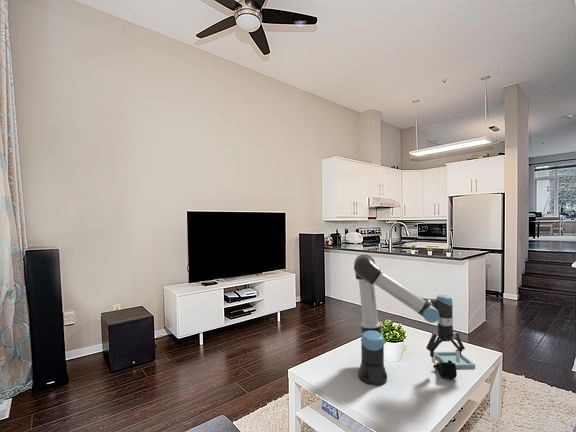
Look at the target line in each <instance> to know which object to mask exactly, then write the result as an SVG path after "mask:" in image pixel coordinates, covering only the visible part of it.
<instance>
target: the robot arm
mask: <svg viewBox="0 0 576 432" xmlns="http://www.w3.org/2000/svg"><path fill="white" fill-rule="evenodd" d="M353 270H354V272H355V279H356V280H357V281H358V287H359V296H360V297H359V298H360V304H361V307H360V308H361V315H362V321H361V323H360V332H361V338H360V342H361V343H360V344H361V346H360V347H361V351H360V352H361V362H360V365H359V368H358V371H357V372H358V373H357V374H358V375H357V376H358V379H359V380H360V381H362V382H363V383H365V384H368V385H371V386H382V385H384V384H386V383H387V381H388V373H387V371H386V367H385V363H384V362H385V358H384V357H385V353H384V351H385V347H384V345H385V339H384V336H383V332H382V324H381V322H380V321H379V319H378V308H377V299H376V290H375V289H376V288H375V286H377V287H378V288H380V289H381V290H383V291H384V292H386V293H387V294H389V295H390V296H392V297H394V298H395V299H396V300H398V301H399V302H400V303H403V304H404V305H405V306H406V307H408V308H409V309H411V310H413V311H414V312H416V313H417V314H418V315H420V316H422V317H423V319H424V320H425V321H426V322H428V323H430V324H431V323H432V324H433V323H436V322H437V332H434V331H432V332H431V337H430V338H429V341H428V344H427V345H426V350H428V352H429V356H430V357H431V363H432V364H433V365H434V364H436V357H435V352H436V351H435V350H436V349H437V348H438V347H439V346H440V345H441V343H443V342H451V344H453V346H454V347H455V352H456V361H457V362H458V363H460V356H461V354H462V352H463V351H465V348H466V347H465V346H464V344H463V342H462V340H461V338H460V335H459V332H457V331H454V326H453V324H454V319H453V318H454V317H453V313H454V312H453V308H454V304H453V298H452V297H451V295H447V294H438V295H437V296H436V298H423V297H420V296H419V295H417V294H416V293H415V292H412V291H411V290H410V289H408V288H406V287H405V286H403V284H401V283H400V282H397V281H396V280H395V279H393V278H391V277H390V276H388V275H387V274H385V272H383V271H384V270H383V269H381V268H379V266H377V265H376V262H375V259H374V257H372V256H371V255H369V254H365V253H364V254H360V255H358V256H357V257H356V258H355V260H354V263H353ZM453 337H454V339H456V341H455V340H454V339H453Z"/></svg>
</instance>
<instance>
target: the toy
mask: <svg viewBox="0 0 576 432" xmlns="http://www.w3.org/2000/svg"><path fill="white" fill-rule="evenodd" d="M432 366H433V367H432V368H434V369H437V371H438V373H439V376H440V377H442V378H450V379H451V378H452V379H455V378H457V376H458V373H457V368H456V365H455V363H452V361H450V360H448V362H445V363H441V362H440V361H439V362H435V364H434V363H433V365H432Z"/></svg>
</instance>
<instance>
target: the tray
mask: <svg viewBox="0 0 576 432" xmlns="http://www.w3.org/2000/svg"><path fill="white" fill-rule="evenodd" d="M435 359H437V361H439V363H440V362H441V363H445V362H448V360H450V361H452V363H455V365H456V369H476V364H475V363H474V362H473V361H472V360H470V359H469V358H468V357H466V356H465V355H464V354H463V353H461V356H460V363H458V362H457V361H456V351H435Z"/></svg>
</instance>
